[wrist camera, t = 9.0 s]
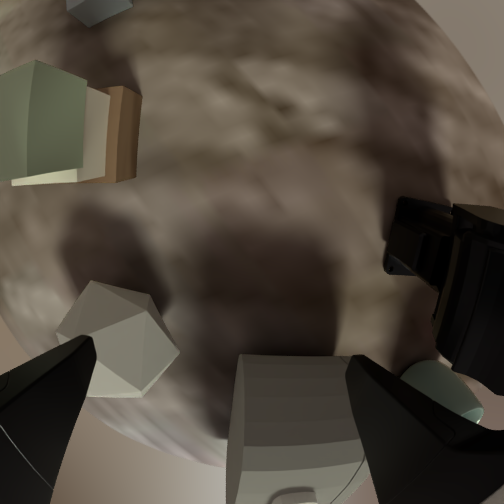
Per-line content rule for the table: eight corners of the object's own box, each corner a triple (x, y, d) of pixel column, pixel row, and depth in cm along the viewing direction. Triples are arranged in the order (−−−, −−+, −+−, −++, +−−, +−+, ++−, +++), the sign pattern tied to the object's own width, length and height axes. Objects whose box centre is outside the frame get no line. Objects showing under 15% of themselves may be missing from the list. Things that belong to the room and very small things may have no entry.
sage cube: (87, 80, 10) (35, 59, 6) (83, 167, 12) (27, 177, 8) (24, 98, 10) (-30, 91, 6) (21, 175, 12) (-35, 189, 7)
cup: (449, 346, 27) (496, 399, 17) (423, 394, 29) (458, 447, 20) (401, 351, 26) (447, 417, 16) (375, 402, 28) (406, 466, 19)
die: (92, 250, 21) (19, 342, 15) (168, 263, 18) (75, 398, 11) (138, 313, 27) (85, 394, 20) (212, 337, 23) (154, 442, 17)
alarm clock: (298, 452, 31) (316, 537, 18) (225, 452, 30) (226, 542, 17) (348, 327, 24) (414, 444, 12) (241, 322, 24) (248, 467, 11)
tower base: (143, 97, 17) (123, 85, 14) (136, 177, 19) (115, 182, 16) (74, 103, 17) (46, 97, 13) (69, 177, 19) (41, 184, 15)
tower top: (110, 95, 14) (83, 85, 11) (105, 176, 15) (77, 182, 12) (47, 105, 13) (16, 100, 10) (43, 178, 15) (11, 186, 12)
